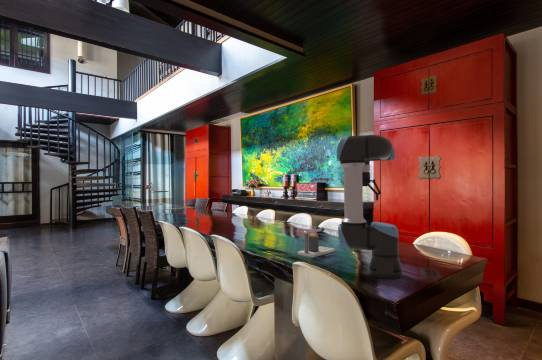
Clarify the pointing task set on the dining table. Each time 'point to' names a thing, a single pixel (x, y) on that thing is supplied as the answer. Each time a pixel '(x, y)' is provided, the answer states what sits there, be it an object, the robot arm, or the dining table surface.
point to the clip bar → (313, 231)
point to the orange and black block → (313, 243)
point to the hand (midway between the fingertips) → (364, 205)
